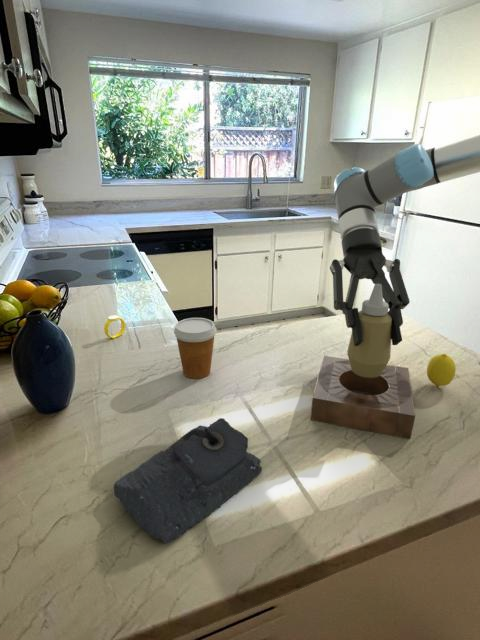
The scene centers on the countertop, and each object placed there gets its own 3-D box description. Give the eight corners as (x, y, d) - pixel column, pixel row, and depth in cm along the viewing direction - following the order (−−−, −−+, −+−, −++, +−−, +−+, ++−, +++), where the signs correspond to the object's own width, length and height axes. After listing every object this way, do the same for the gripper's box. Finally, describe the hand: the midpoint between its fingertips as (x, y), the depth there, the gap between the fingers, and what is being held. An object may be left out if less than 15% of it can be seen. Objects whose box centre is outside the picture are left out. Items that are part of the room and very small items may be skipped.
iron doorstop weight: (100, 491, 61) (96, 466, 59) (208, 425, 76) (207, 404, 74) (161, 555, 51) (158, 528, 49) (271, 466, 66) (272, 442, 64)
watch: (121, 331, 115) (119, 312, 112) (128, 334, 113) (125, 314, 111) (104, 338, 110) (101, 318, 108) (110, 341, 109) (107, 321, 106)
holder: (405, 387, 88) (408, 367, 86) (411, 439, 72) (416, 416, 70) (321, 374, 93) (323, 355, 92) (309, 420, 77) (311, 398, 75)
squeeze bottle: (363, 385, 75) (376, 294, 68) (337, 366, 82) (346, 281, 75) (396, 376, 78) (412, 288, 71) (368, 358, 85) (380, 276, 78)
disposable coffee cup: (177, 384, 89) (174, 335, 84) (175, 364, 97) (172, 318, 93) (220, 380, 91) (219, 332, 86) (214, 360, 99) (213, 315, 95)
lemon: (446, 396, 85) (454, 362, 82) (420, 386, 89) (426, 354, 86) (454, 385, 89) (462, 353, 86) (428, 377, 93) (435, 345, 90)
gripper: (399, 246, 86) (420, 348, 77) (309, 247, 85) (320, 350, 77) (414, 225, 79) (440, 335, 71) (316, 226, 79) (330, 337, 70)
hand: (377, 342), depth 74 cm, fingers closed on squeeze bottle, 6 cm apart
